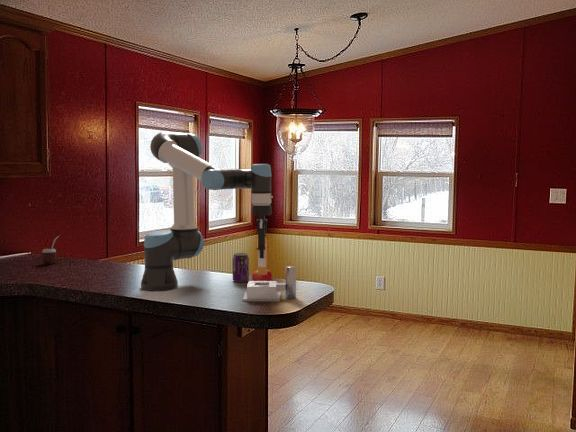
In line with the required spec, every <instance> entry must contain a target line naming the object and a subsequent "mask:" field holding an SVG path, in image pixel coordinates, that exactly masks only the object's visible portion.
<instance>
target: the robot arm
mask: <svg viewBox="0 0 576 432" xmlns="http://www.w3.org/2000/svg"><path fill="white" fill-rule="evenodd" d="M149 145H150V146H149V148H150V153H151V154H152V156H153V157H154V158H155V159H157V160H158V161H160V162H162V163H164V164H168V166H170V167H171V168H172V193H173V194H172V197H173V198H172V199H173V201H172V202H173V225H172V226H171V227H170V230H169V229H163V230H154V231H151V232H148V233H146V234H145V236H144V237H143V238H144V241H143V242H144V243H143V249H144V250H143V251H144V272H143V275H142V277H141V281H140V289H141V290H144V291H156V292H157V291H158V292H159V291H167V290H168V291H169V290H174V289H176V288H178V287H179V286H178V285H179V284H178V283H179V282H178V278H177V275H176V272H175V270H174V269H175V268H174V261H177V260H184V259H191V258H195V257H197V256H199V255H200V253H201V252H202V251H203V249H204V244H205V240H204V236H203V235H202V233H201V231H199V227H198V226H197V225H196V223H195V206H194V203H195V202H194V201H195V200H194V197H195V196H194V178H196V179H197V180H199V181H200V182H201V184H202V185H203V188H205V189H206V190H208V191H209V190H210V191H219V190H239V189H250V190H251V193H250V194H251V204H252V206H251V214H252V215H253V216H258V219H256V231H257V238H258V248H256V250H258V255H257V268H258V267H266V254H265V237H266V238H267V233H266V232H267V231H268V230H267V228H268V227H267V225H268V219H266V216H271V215H272V214H273V213H272V212H273V210H272V199H273V198H274V196H273V195H272V176H273V175H272V167H271V165H270V163H269V164H268V163H253V164H251V168H250V169H249V168H248V169H247V168H244V169H243V168H235V169H233V168H231V169H229V168H227V169H223V168H219V167H217V166H215V165H214V164H212V163H210V162H209V161H206V160H204V159H202V157H201V156H202V152H203V150H202V148H203V147H202V146H203V145H202V143H201V141H200V138H199V137H197V135H195V134H194V133H190V132H177V131H176V132H175V131H173V132H172V131H171V132H170V131H162V132H159V133H157V134H155V136H153V138H152V139H151V141H150V144H149ZM200 157H201V158H200ZM268 247H269V246H268V245H267V249H268Z"/></svg>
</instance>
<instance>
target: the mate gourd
mask: <svg viewBox="0 0 576 432" xmlns="http://www.w3.org/2000/svg"><path fill="white" fill-rule="evenodd" d="M59 237H60V235H58V236H57V237H55V238H54V239H53V242H52V245H51V248H50V247H49V248H44V249H43V250H42V251H41V259H42V262H43V264H42V265H43V266H53V265H55V264H56V261H57V251H56V249H55V248H54V245H55V243H56V240H57V239H58V238H59Z"/></svg>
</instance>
